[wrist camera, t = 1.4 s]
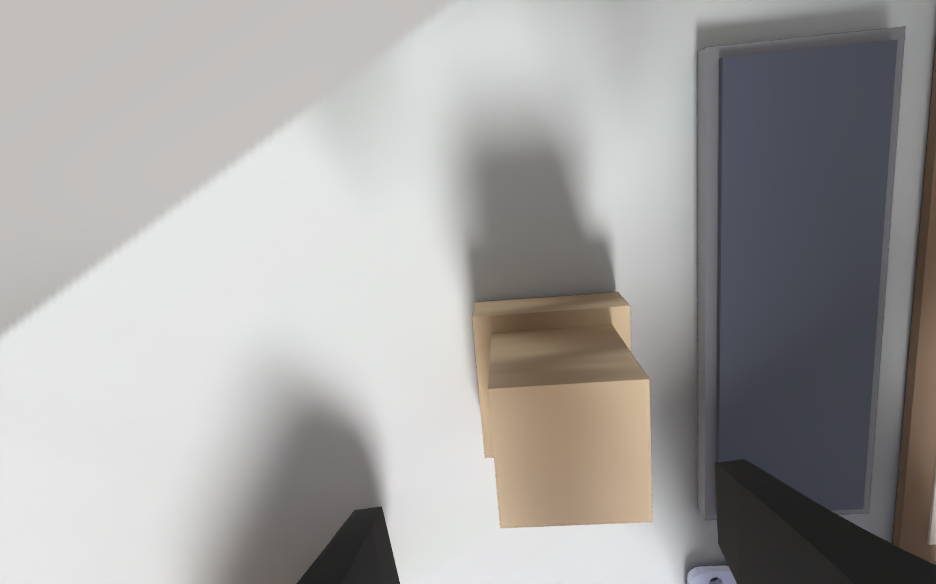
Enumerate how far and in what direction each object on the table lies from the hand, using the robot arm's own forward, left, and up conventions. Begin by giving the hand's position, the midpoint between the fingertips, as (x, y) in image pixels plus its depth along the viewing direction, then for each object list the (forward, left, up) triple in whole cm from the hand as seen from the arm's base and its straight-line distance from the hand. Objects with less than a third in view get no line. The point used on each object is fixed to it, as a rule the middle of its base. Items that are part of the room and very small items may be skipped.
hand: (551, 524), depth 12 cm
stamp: (-1, 0, -10) cm, 10 cm away
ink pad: (-9, -2, -10) cm, 14 cm away
